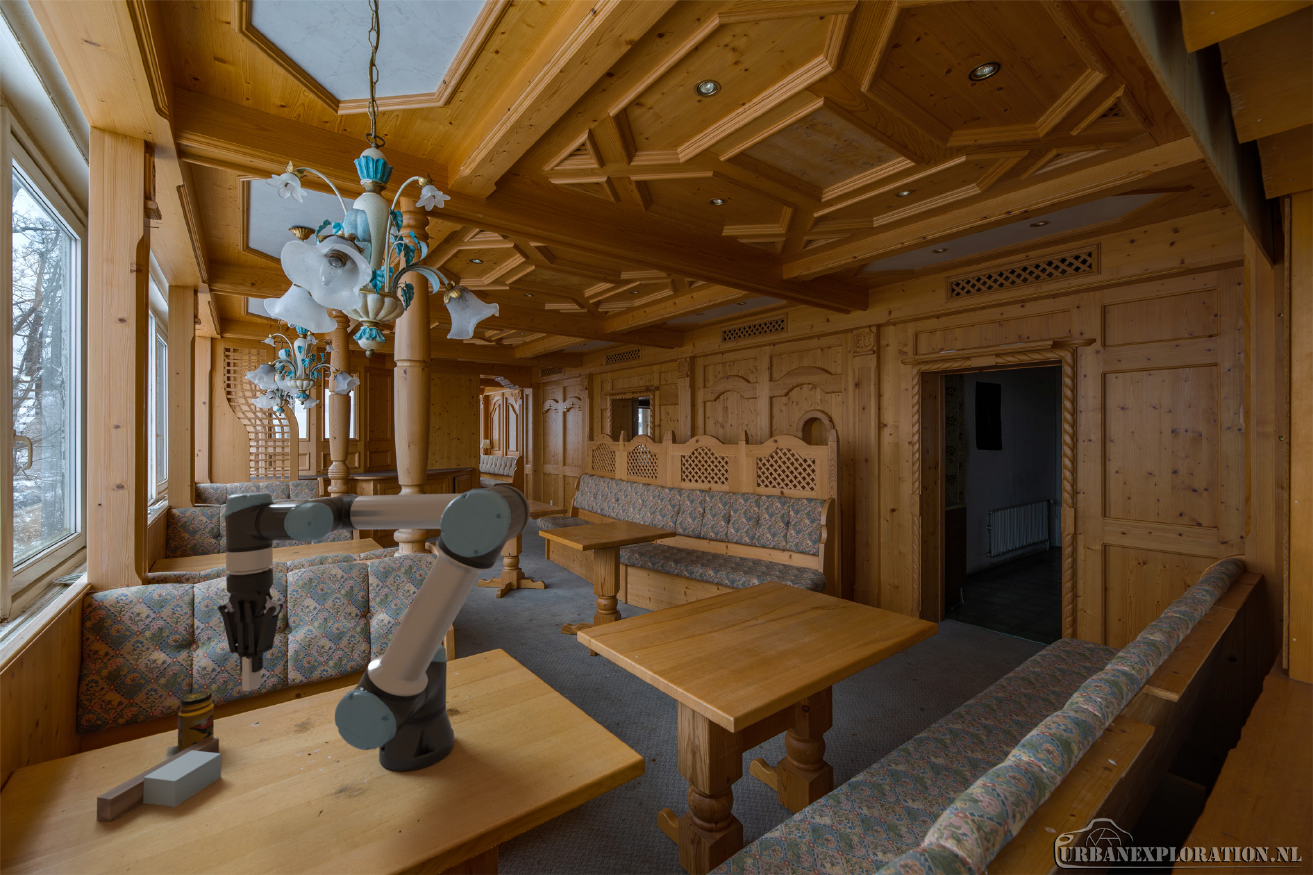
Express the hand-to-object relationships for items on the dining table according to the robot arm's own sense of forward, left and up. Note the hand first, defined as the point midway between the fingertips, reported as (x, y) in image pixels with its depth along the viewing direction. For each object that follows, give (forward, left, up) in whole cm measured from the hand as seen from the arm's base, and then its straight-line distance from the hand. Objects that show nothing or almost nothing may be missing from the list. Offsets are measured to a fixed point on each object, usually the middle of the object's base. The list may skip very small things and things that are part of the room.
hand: (251, 687), depth 108 cm
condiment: (+23, -7, -19) cm, 30 cm away
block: (+11, +5, -19) cm, 22 cm away
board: (+16, +4, -19) cm, 25 cm away
